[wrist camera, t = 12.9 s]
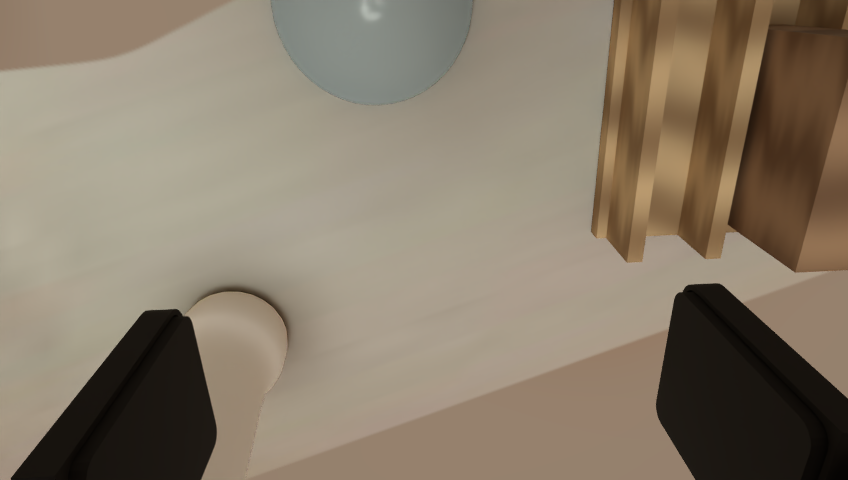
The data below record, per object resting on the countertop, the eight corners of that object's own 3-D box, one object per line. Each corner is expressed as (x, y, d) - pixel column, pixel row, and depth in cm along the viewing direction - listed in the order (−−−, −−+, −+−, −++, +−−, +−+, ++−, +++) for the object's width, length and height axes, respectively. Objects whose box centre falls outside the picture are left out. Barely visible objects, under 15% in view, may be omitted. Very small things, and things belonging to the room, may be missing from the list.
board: (736, 26, 34) (858, 38, 25) (784, 24, 35) (923, 36, 25) (703, 207, 39) (795, 272, 30) (745, 205, 39) (849, 269, 30)
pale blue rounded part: (261, -107, 32) (256, -111, 31) (470, -113, 32) (473, -118, 31) (288, 104, 37) (285, 108, 36) (469, 97, 37) (472, 101, 36)
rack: (615, -5, 35) (649, -5, 30) (897, -15, 35) (976, -16, 30) (591, 231, 41) (616, 263, 36) (829, 220, 42) (885, 250, 37)
